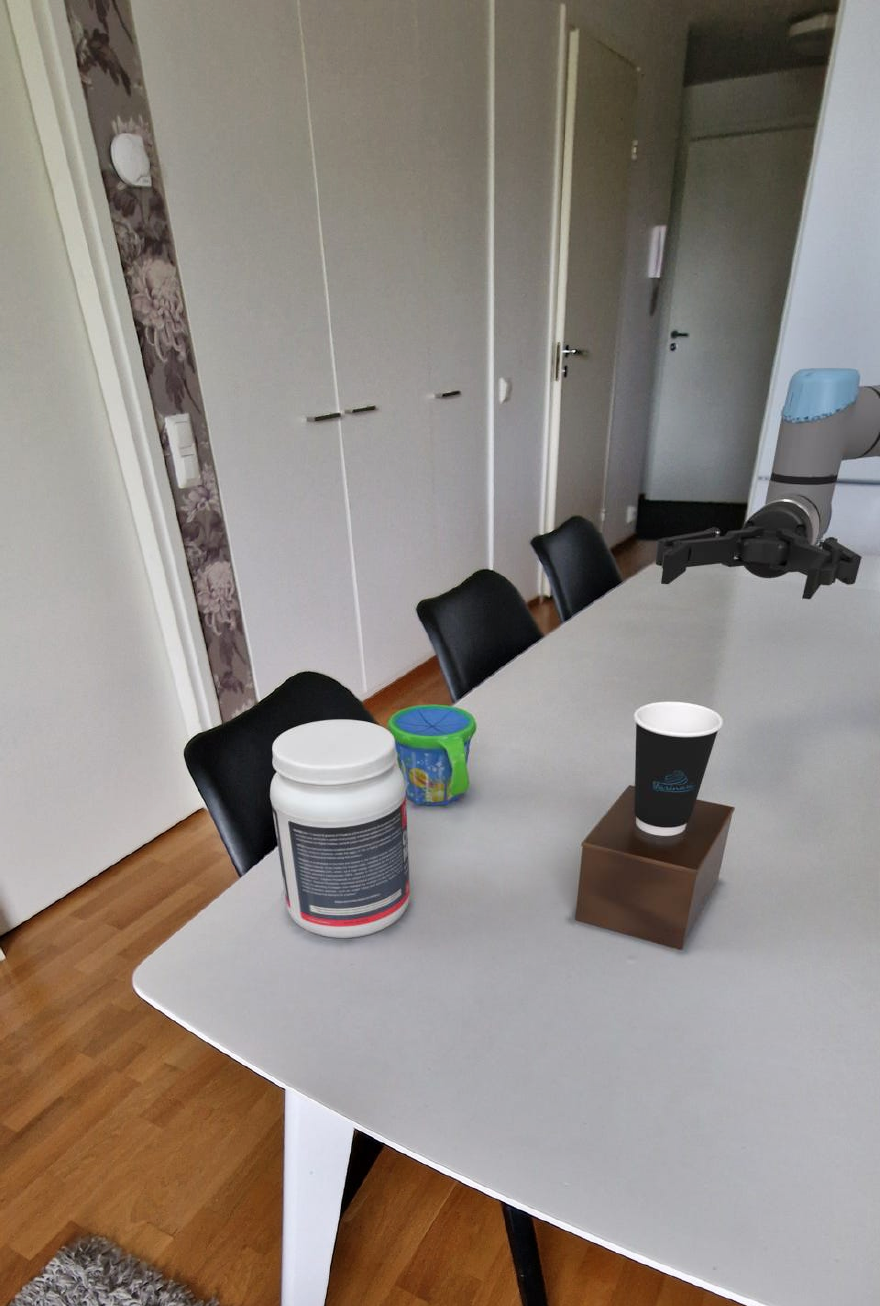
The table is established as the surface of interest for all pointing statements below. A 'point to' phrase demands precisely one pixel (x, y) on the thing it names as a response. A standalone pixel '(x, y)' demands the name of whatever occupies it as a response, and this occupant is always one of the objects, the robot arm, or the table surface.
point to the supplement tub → (341, 827)
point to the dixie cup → (671, 763)
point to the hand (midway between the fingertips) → (735, 576)
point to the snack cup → (433, 751)
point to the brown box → (651, 872)
